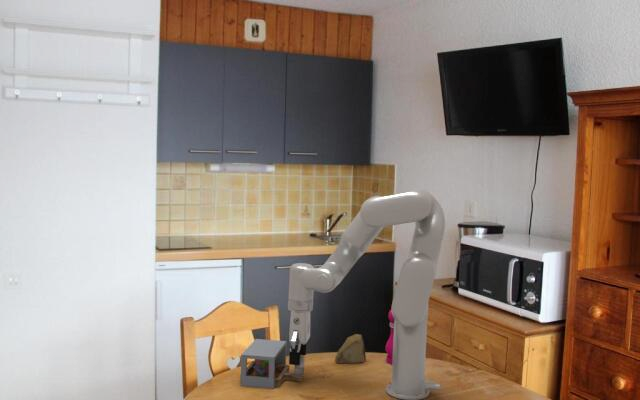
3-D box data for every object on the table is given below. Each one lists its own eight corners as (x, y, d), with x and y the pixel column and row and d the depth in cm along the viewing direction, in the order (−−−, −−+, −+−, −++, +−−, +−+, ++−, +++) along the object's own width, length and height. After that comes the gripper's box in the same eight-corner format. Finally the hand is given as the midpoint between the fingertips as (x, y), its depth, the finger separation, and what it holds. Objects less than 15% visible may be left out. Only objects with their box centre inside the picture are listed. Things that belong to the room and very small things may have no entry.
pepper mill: (405, 366, 224) (408, 306, 222) (383, 364, 225) (386, 305, 223) (407, 359, 231) (409, 302, 229) (386, 357, 232) (388, 300, 230)
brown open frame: (308, 372, 213) (308, 350, 213) (299, 388, 200) (300, 364, 199) (252, 368, 216) (253, 346, 216) (240, 383, 202) (240, 359, 202)
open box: (285, 370, 216) (286, 341, 215) (273, 388, 199) (274, 357, 199) (255, 367, 218) (255, 338, 217) (240, 385, 201) (241, 354, 200)
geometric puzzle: (284, 372, 207) (273, 348, 210) (267, 378, 202) (257, 353, 205) (270, 381, 211) (260, 358, 214) (254, 387, 206) (244, 362, 209)
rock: (331, 359, 222) (361, 357, 219) (332, 334, 226) (361, 333, 224) (338, 370, 230) (367, 369, 228) (339, 346, 235) (367, 345, 233)
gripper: (307, 312, 196) (304, 370, 197) (317, 299, 213) (314, 352, 214) (282, 310, 197) (279, 367, 198) (294, 297, 214) (291, 350, 215)
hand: (297, 359), depth 206 cm, fingers open, 9 cm apart
